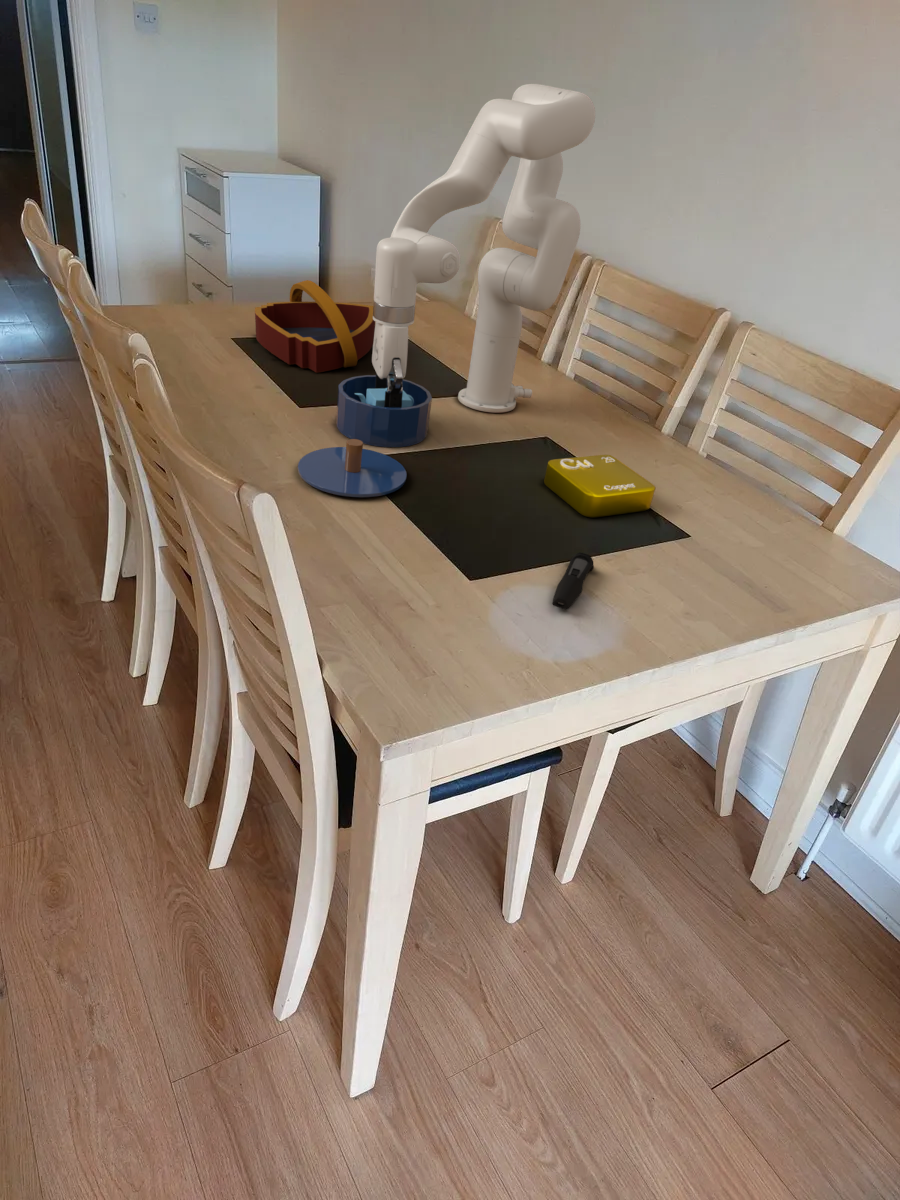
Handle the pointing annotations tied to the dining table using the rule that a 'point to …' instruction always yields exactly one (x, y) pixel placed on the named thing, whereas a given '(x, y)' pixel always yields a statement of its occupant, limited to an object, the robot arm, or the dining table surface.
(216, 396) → the dining table surface
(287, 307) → the decorative basket
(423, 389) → the pot
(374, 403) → the teapot
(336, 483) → the lid
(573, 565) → the electric trimmer
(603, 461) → the element tile
